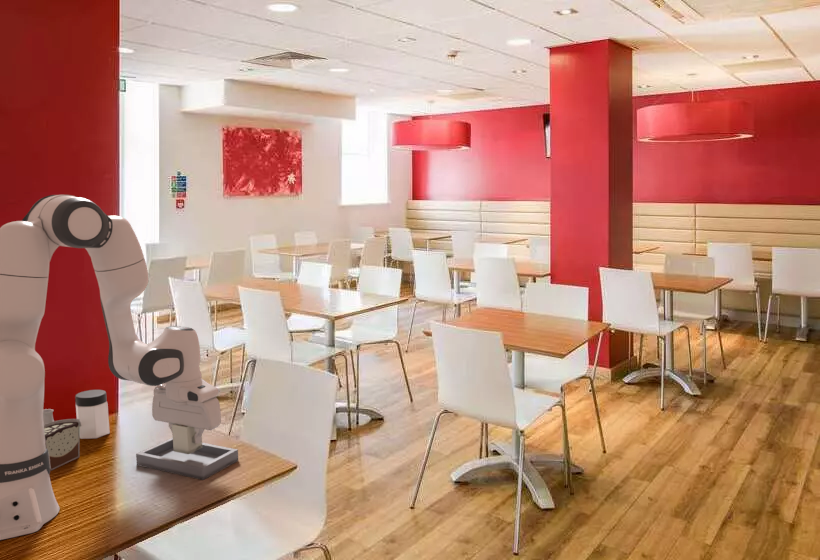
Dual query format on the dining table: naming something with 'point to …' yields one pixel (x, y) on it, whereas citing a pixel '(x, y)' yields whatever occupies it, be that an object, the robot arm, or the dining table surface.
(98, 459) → the dining table surface
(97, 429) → the jar
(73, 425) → the food container
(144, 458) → the tray
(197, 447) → the cup
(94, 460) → the dining table surface
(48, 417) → the flask
